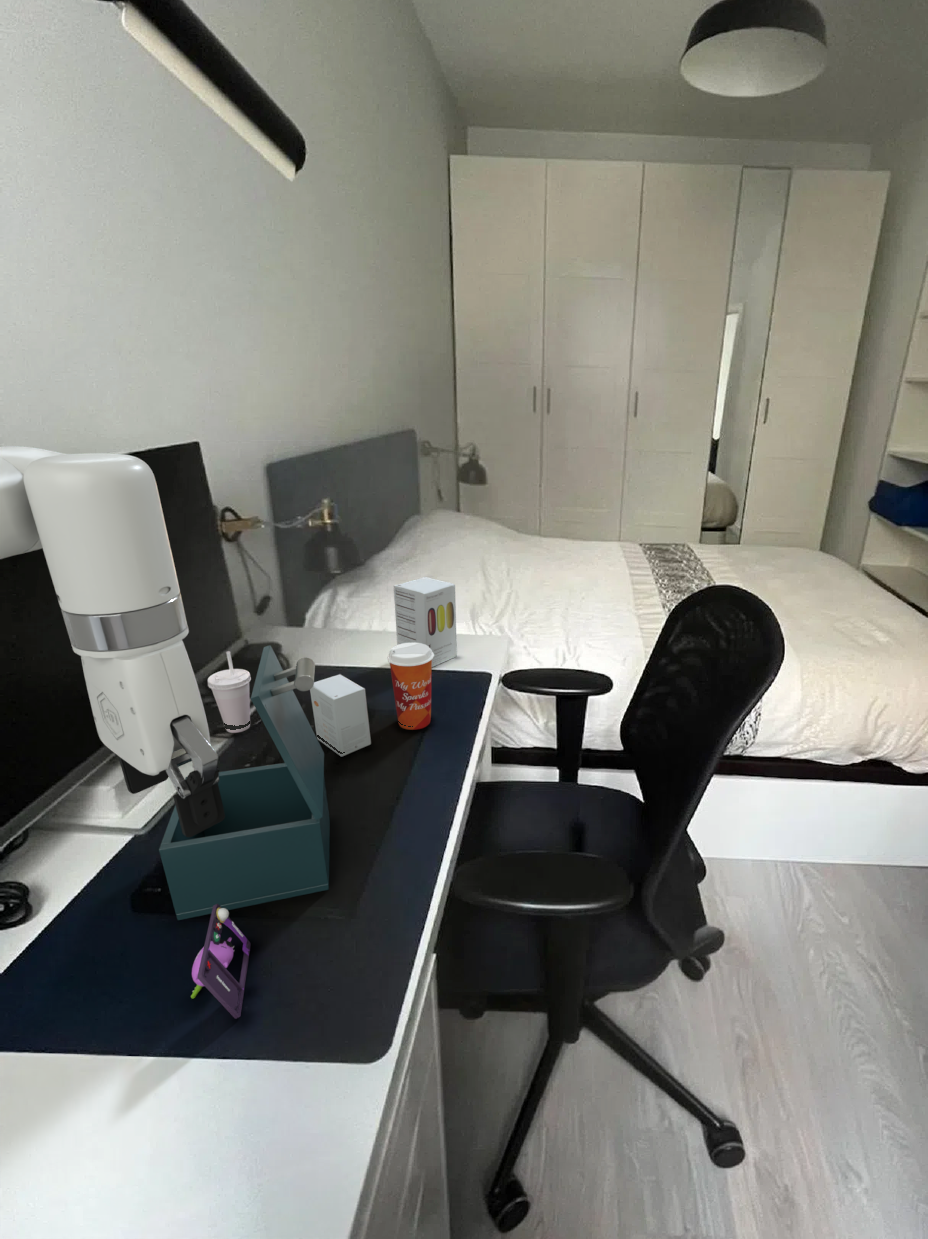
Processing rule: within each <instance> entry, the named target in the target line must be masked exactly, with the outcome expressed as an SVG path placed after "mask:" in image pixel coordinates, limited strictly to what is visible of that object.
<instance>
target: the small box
mask: <svg viewBox="0 0 928 1239" xmlns="http://www.w3.org/2000/svg"><path fill="white" fill-rule="evenodd" d="M309 692H310V700H311V706H312V712H313V718H314V726H315V733H316V734H315V735H316V738H317V740H318V742H320V743H321V744H323V745H325V747H327V748H329V749H330V750H332V751H333V752H334V753H336V755H338V756H340V757H344V756H347V755H349V754H352V753H354V752H356V751H358V750H361V749H363V748H365V747H368V746H370V745H372V739H371V732H370V731H371V730H370V722H369V713H368V704H367V702H368V701H367V694H366V688H365V687H363V686H361V685H359V684H357V683H356V682H354V681H352V680H350V679H349V678H347V677H346V676H344V675H342V674H341V673H339V674H336V675H333V676H330V677H327V678H324V679H323V678H322V679H320V680H318V681H314V685H313V687H312V688H311V689H310V690H309ZM317 735H319V736H320V737H321V738H323V739H324V740H325V741H327V742H328V743H329V744H331V745H332V746H333V747H335V748H336V749H337V750H338V751H340V752H342V753H343V752H345V753H343V754H340V753H338V752H337V751H336V750H334V749H333V748H332V747H330V746H329V745H328V744H326V743H325V742H323V741H322V740H321V739H319V738H318V737H317Z"/></svg>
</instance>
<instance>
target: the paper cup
mask: <svg viewBox="0 0 928 1239" xmlns="http://www.w3.org/2000/svg"><path fill="white" fill-rule="evenodd" d="M433 657H434V653H433V652H432V650H431V649H430V648H429V647H428V646H427V645H425V644H422V643H403V644H399V645H397V644H396V645H394V646H392V647H391V648H390V650H389V653H388V655H387V658H386V659H387V661H388V663H389V668H390V673H391V681H392V688H393V697H394V703H395V710H396V718H397V722H398V721H399V722H400V723H401V724H403V725H401V724H400V723H399V722H398V725H399V727H400V728H402V729H405V730H412V731H413V730H421V729H424V728H426V727H428V726H429V725H430V724H431V720H432V719H431V718H432V677H433V676H432V672H433V671H432V670H433V667H432V659H433ZM404 725H406V726H404ZM408 726H411V727H408ZM412 726H413V727H412Z"/></svg>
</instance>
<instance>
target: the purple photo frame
mask: <svg viewBox="0 0 928 1239" xmlns="http://www.w3.org/2000/svg"><path fill="white" fill-rule="evenodd" d="M208 922H209V923H208V928H207V931H206V936H205V940H204V946H203V947H202V948H201V949H200V950H199V952H198V953H197V955H196V957H195V958H194V961H193V964H192V967H191V978H192V981H193V982H194V984H196V986H195V987H194V990H192V994H191V995H190V998H191V1000H192V999H195V998H196V997H197V996H198V994H199V992H200V991H201V990H202V988H203V987H205V989H207V990H208V991H209V993H210V994H211V995H212V996H213V997H214V998H215V999H216V1000H217V1002H219V1003H220V1005H221V1006H223V1008H224V1009H225V1010H226V1011H227V1012H228V1013H229V1014H230V1015H231V1016H232V1018H234V1019H235V1020H237V1019H239V1018H240V1017H241V1016H242V1009H243V1000H244V994H245V987H246V982H247V981H246V980H247V973H248V966H249V959H250V952H251V942H250V941H249V939H248V938H247V937H246V936H245V934H244V933H243V932H242V931H241V930H240V928H239V927H238V926H237V924H236V923H235V922H234V921H233V919H231V918H230V912H229V910H227V909H225V908H221V907H220V905H219V904H215V905H213V909H212V913H211V914H210V917H209V921H208ZM222 924H223V925H225V926H226V927H228V928H229V930H231V931H232V933H234V935H235V936H236V937H237V939H238V940H240V942H241V943H242V952H243V957H242V964H241V971H240V977H239V981H237V979H236V978H235V977H234V976H233V975H232V973H231V972H230V971H229V970H228V969H227V968H228V967H229V966H230V964H231V962H232V960H233V958H234V953H235V949H234V948H235V945H233V943H232V939H233V937H231V936H230V937H228V938H227V939H224V938H221V934H222V932H223V927H224V926H223V925H222Z"/></svg>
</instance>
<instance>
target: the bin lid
mask: <svg viewBox="0 0 928 1239" xmlns="http://www.w3.org/2000/svg"><path fill="white" fill-rule="evenodd" d="M315 670H316V663H315V661H314V660H313V659H312V658H309V657H302V658H300V659H299V660H298V661H296V664H295V666H293V667H290V668H287V669H285V670H283V667H282V666H281V663H280V662H279V659H278V657H277V655H276V653H275V651H274V649H273V647H272V645H271V644H270V645H267V646H264V647H263V649H262V653H261V657H260V661H259V664H258V669H257V673H256V675H255V681H254V683H253V688H252V692H251V696H250V701H251V702H252V704H253V706H254V708H255V710H256V711H257V714H258V715H259V717H260V719H261V722H262V723H263V725H264V726H265V728H266V730H267V732H268V734H269V736H270V738H271V739H272V741H273V743H274V746H275V747H276V750H277V751H278V752H279V755H280V756H281V758H282V760H283V763H285V764H286V766H287V768H288V769H289V771H290V773H291V775H292V777H293V779H294V781H295V783H296V784H297V786H298V788H299V790H300V792H301V794H302V796H303V797H304V799H305V801H306V803H307V805H308V807H309V809H310V811H311V812H312V814H313V816H314V818H315V820H317V819H320V818H322V817H323V779H325V772H324V771H325V752H324V750H323V748H322V746H321V744H320V741H319V740H318V739H317V735H316V734H315V732H314V730H313V728H312V726H311V724H310V722H309V720H308V718H307V715H306V713H305V712H304V710H303V708H302V706H301V703H300V701H299V700H298V697H297V695H296V694H295V691H294V690H295V689H296V690H298V691H300V692H309V691H310V689H311V688H312V687H313V685H314V682H315ZM292 676H294V679H293V681H289V679H288V678H289V677H292Z"/></svg>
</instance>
